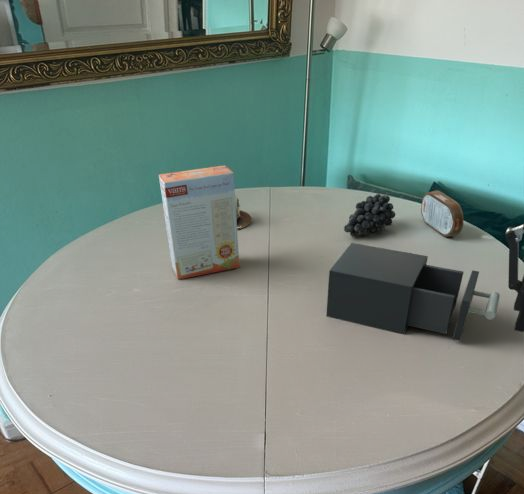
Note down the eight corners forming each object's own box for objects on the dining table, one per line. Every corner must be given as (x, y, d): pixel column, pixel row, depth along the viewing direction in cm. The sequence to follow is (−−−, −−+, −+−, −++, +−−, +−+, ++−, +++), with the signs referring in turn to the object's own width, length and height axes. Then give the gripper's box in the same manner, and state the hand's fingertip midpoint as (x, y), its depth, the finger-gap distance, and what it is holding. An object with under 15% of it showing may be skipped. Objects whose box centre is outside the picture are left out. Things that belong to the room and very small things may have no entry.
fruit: (353, 205, 117) (398, 189, 124) (329, 207, 124) (373, 191, 131) (359, 243, 120) (403, 225, 127) (335, 242, 127) (378, 225, 134)
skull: (209, 206, 140) (233, 179, 134) (237, 233, 142) (262, 208, 136) (194, 222, 130) (218, 194, 124) (224, 251, 133) (250, 224, 127)
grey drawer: (494, 313, 95) (505, 276, 90) (486, 347, 87) (498, 307, 82) (397, 293, 101) (403, 257, 97) (382, 323, 93) (387, 285, 89)
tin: (460, 241, 122) (468, 206, 117) (448, 243, 122) (456, 208, 117) (427, 217, 134) (433, 185, 129) (416, 219, 133) (421, 186, 128)
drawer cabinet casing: (419, 301, 101) (427, 256, 95) (404, 334, 92) (412, 287, 86) (347, 285, 106) (351, 242, 100) (326, 316, 97) (329, 270, 91)
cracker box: (231, 257, 118) (226, 163, 105) (240, 268, 113) (235, 172, 101) (171, 268, 114) (157, 172, 101) (177, 280, 109) (164, 181, 97)
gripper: (617, 189, 75) (562, 325, 89) (520, 176, 79) (482, 307, 93) (620, 207, 69) (561, 348, 83) (516, 192, 74) (476, 329, 88)
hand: (519, 327), depth 88 cm, fingers closed
